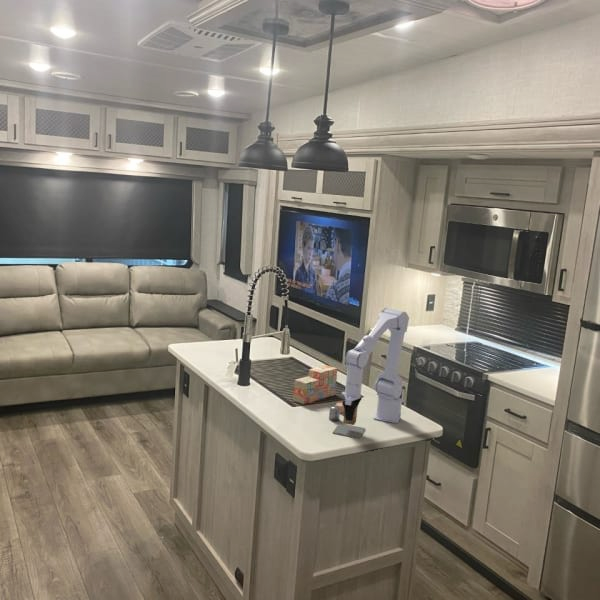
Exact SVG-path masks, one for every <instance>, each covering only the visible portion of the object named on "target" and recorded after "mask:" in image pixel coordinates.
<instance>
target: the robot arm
mask: <svg viewBox="0 0 600 600" xmlns="http://www.w3.org/2000/svg"><path fill="white" fill-rule="evenodd" d="M409 320H410V316H409V315H408V313H407V312H406V311H401V310H397V309H393V308H392V309H391V308H388V307H383V308H382V309H381V311H380V313H379V314H378V320H377V322H376V324H375V325H374V327H373V328H372V330H371V331H370V332H369V334H368V335H364V336H363V337H362V338H361V339H360V340H359V342H358V343H357V344H356V346H355V347H354V348H353V349H350V350H347V352H346V355H345V357H344V363H345V368H346V370H347V371H346V380H345V387H344V388H345V390H344V391H342V392H341V395H342V396H344V398H345V399H343V400H342V402H341V403H342V404H343V406H344V409H345V416H346V420H349V421H352V419H353V415H354V411H355V409H356V407H357V406H358V407H359V404H360V403H361V400H362V399H363V398H362V393H361V392H362V383H363V377H364V376H363V374H364V368H365V366H367V364H368V361H369V359H370V355H371V353H372V352H373V351H374V350H375V348H376V347H377V345H378V343H377V341H378V340H379V339H380V338H381V337H382V336H383V335H384V333H385V332H386V331H387V330H388V331H389V332H390V336H389V343H388V348H387V352H386V353H387V354H386V360H385V364H384V370H383V372H381V373H378V375H377V378H376V381H375V382H374V391H375V393H376V395H377V396H378V398H377V406H376V413H375V415H374V417H373V420H377V421H383V422H387V423H392V424H393V423H394V424H398V423H399V421H400V419H401V415H402V406H403V405H402V402H403V400H402V398H400V397H401V395H402V393H403V381H404V379H402V377H401V376H400V375H399V374H398V373H399V372H398V371H399V366H400V361H401V355H402V350H403V344H404V340H405V339H404V338H405V333H407V331H408V327H409V326H408V325H409Z"/></svg>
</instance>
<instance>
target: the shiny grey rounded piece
mask: <svg viewBox="0 0 600 600" xmlns="http://www.w3.org/2000/svg"><path fill="white" fill-rule="evenodd" d="M328 414H329V416H328V420H329V421H331V422H334V423H335V422H336V423H337V422H339V421H340V417H341V416H340V415H341V414H340V407H339V406H336V405H329V413H328Z"/></svg>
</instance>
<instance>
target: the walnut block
mask: <svg viewBox="0 0 600 600" xmlns="http://www.w3.org/2000/svg"><path fill="white" fill-rule="evenodd" d="M358 407H359V405H358V406H357V407H356V409H355V411H354V415H353V419H352V421H349V420H346V416H345V409H344V414H343V420H342V421H343V422H342V424H346V425H352V426H355V424H356V422H357V417H358Z"/></svg>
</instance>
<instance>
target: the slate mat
mask: <svg viewBox="0 0 600 600" xmlns="http://www.w3.org/2000/svg"><path fill="white" fill-rule="evenodd" d="M365 430H366V428H365V427H362V426H356V425H350V424H345V423H340V422H338V424H337V425H336V427H335V428H334V429H333V431H332V434H334V435H338V436H339V435H340V436H344V437H350V438H353V439H354V438H355V439H360V438H361V437H362V436H363V433H364V432H365Z"/></svg>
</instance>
